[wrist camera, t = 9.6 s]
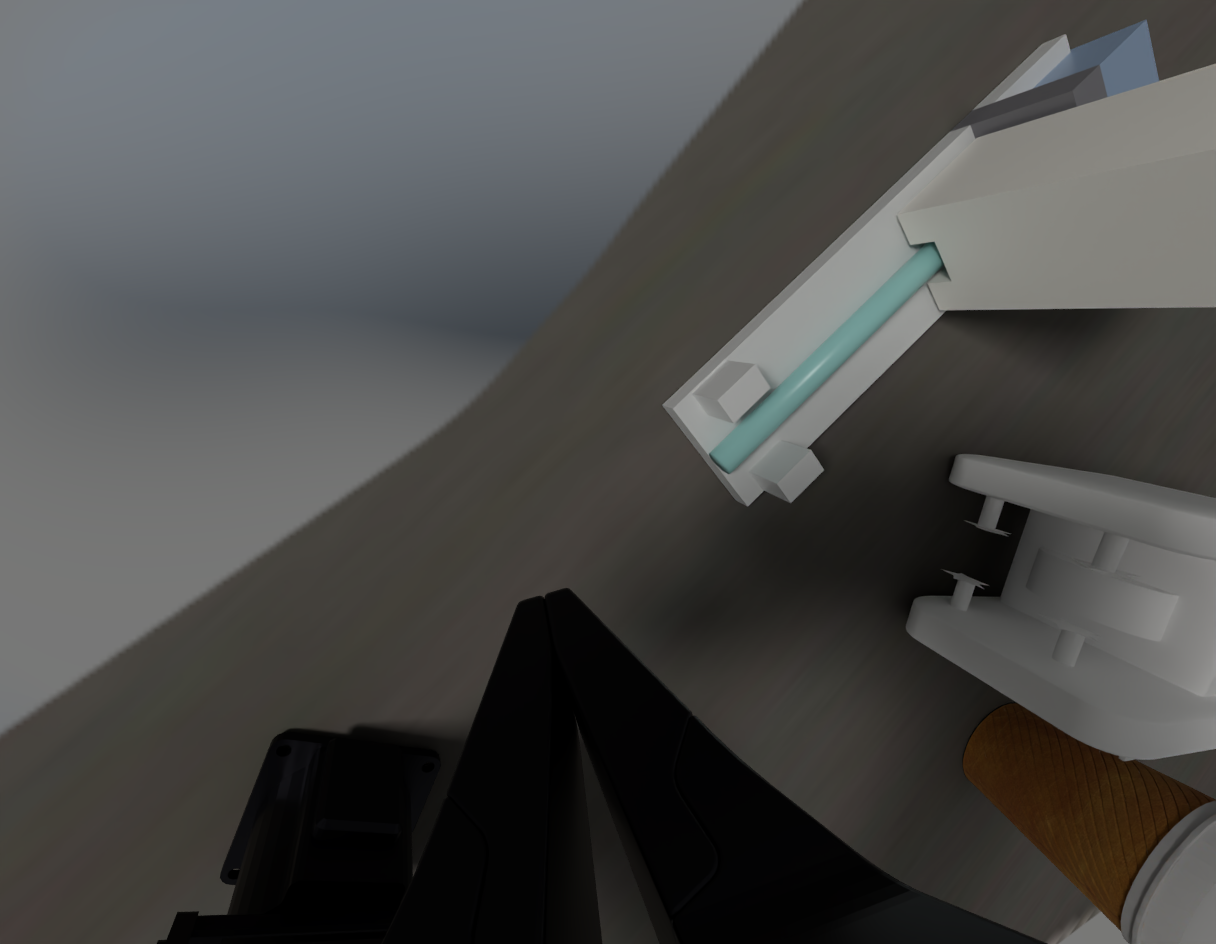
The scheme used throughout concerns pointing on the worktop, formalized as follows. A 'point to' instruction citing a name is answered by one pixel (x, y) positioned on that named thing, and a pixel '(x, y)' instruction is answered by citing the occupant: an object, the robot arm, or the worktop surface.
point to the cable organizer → (1091, 607)
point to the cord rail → (867, 292)
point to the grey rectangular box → (1082, 207)
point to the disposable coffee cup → (1104, 825)
